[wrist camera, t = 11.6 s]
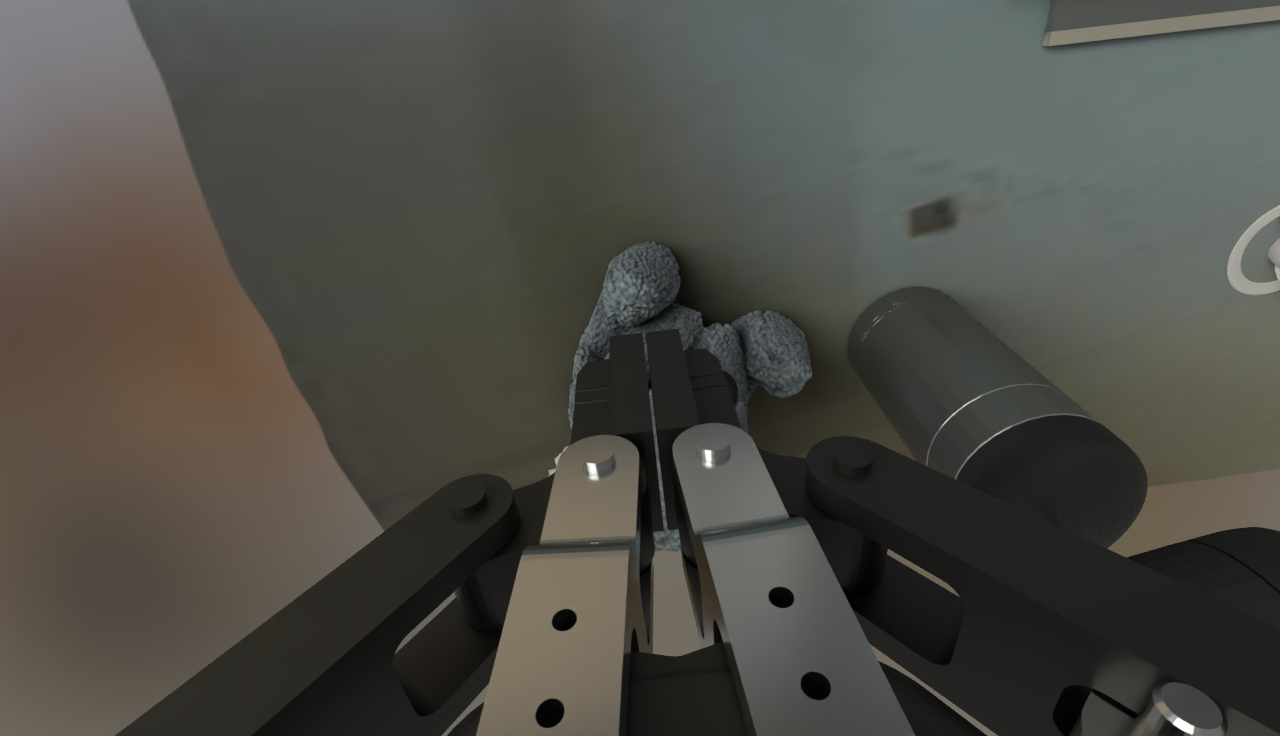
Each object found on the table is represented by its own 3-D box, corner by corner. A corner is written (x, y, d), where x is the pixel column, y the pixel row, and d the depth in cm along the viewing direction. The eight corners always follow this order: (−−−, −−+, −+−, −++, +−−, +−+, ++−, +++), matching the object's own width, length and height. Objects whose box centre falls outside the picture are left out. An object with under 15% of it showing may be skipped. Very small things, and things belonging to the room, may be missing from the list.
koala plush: (812, 323, 48) (923, 490, 31) (692, 475, 55) (729, 675, 39) (624, 219, 43) (635, 352, 26) (521, 402, 50) (477, 595, 34)
